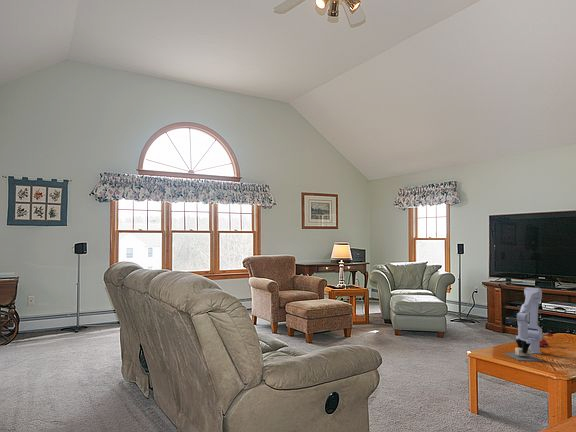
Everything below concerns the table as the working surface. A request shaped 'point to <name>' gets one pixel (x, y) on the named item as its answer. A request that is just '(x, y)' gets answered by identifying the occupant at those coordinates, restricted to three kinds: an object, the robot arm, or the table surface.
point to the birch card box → (520, 352)
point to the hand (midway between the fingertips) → (523, 352)
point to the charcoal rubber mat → (523, 357)
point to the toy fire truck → (544, 342)
